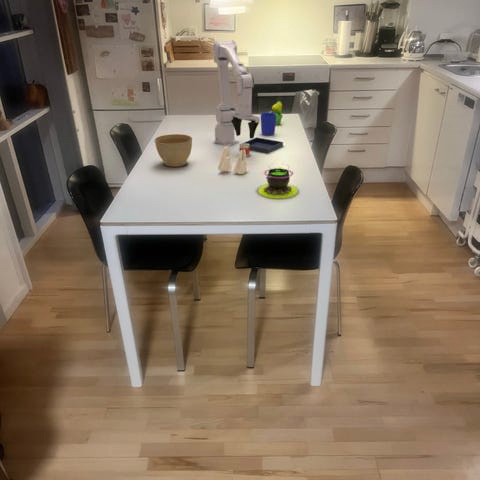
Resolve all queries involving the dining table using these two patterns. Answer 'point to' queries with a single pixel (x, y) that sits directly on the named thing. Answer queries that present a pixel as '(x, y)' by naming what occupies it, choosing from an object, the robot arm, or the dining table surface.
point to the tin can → (245, 148)
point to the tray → (264, 145)
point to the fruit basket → (277, 112)
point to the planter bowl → (174, 149)
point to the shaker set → (226, 162)
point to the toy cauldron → (278, 184)
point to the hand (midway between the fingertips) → (245, 136)
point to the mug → (268, 123)
